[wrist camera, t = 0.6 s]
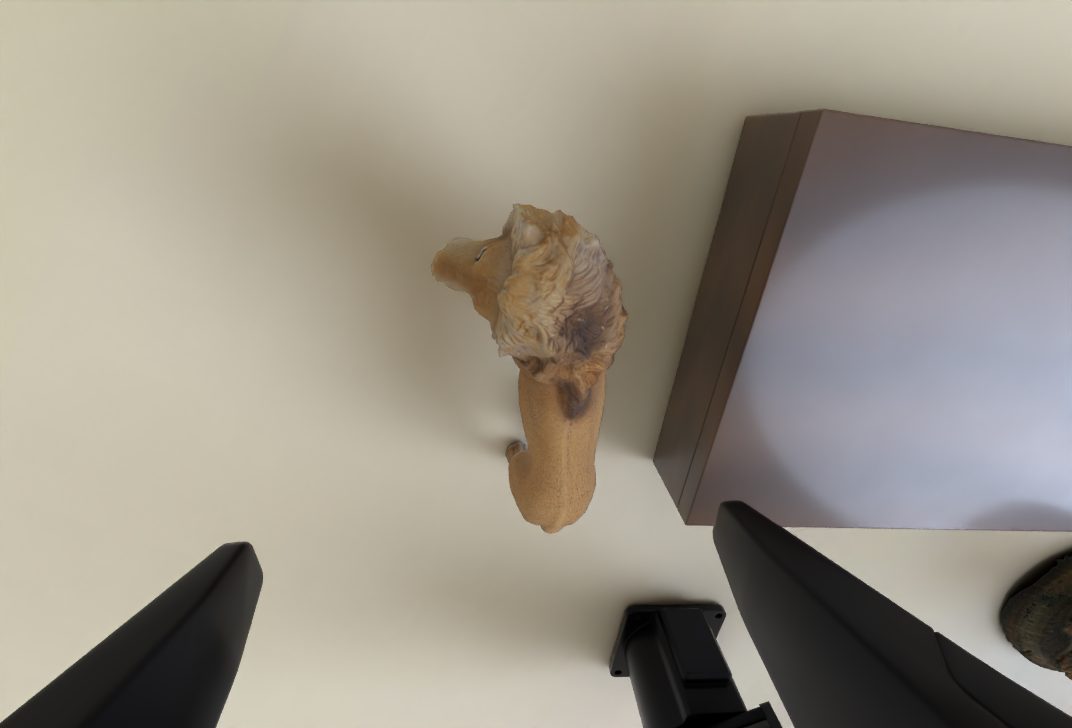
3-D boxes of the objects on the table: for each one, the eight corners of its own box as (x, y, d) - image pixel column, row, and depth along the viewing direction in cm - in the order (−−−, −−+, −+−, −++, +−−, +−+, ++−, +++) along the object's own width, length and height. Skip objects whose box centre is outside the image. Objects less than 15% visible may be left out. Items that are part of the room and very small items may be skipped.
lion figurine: (441, 197, 18) (403, 243, 10) (579, 171, 18) (656, 197, 10) (512, 491, 24) (525, 667, 16) (613, 471, 24) (676, 637, 16)
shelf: (1040, 475, 27) (1136, 533, 23) (652, 461, 24) (685, 525, 20) (1245, 187, 21) (1430, 199, 17) (745, 116, 17) (823, 108, 13)
